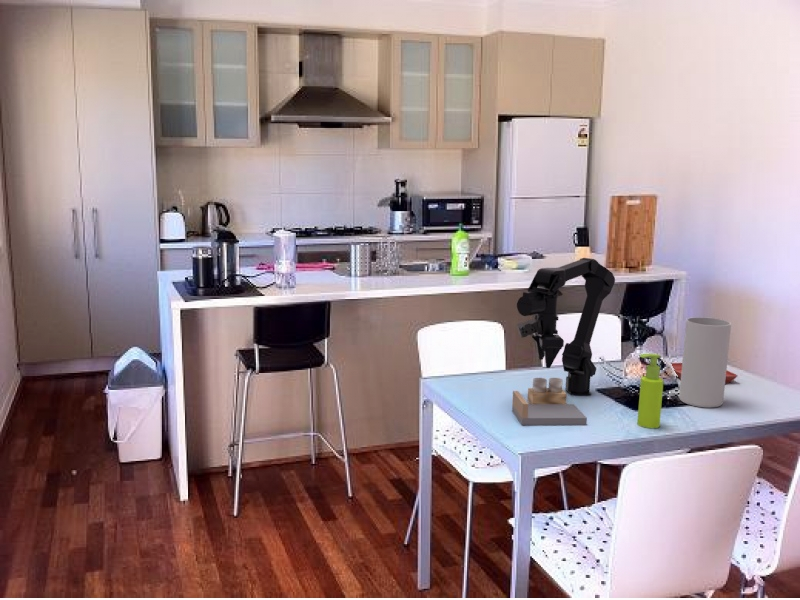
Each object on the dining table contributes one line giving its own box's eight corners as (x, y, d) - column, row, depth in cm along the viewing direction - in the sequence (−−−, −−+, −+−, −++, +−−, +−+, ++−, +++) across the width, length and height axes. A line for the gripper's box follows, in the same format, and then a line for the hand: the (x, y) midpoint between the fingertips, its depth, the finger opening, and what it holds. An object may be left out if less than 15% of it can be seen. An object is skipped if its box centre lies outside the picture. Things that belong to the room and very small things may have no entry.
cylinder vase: (731, 404, 234) (740, 323, 229) (704, 410, 227) (713, 327, 223) (696, 393, 244) (704, 315, 240) (670, 399, 238) (677, 319, 233)
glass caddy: (560, 400, 234) (561, 376, 233) (565, 407, 228) (567, 382, 227) (527, 400, 233) (528, 376, 232) (532, 407, 227) (533, 382, 226)
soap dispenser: (630, 421, 217) (636, 351, 213) (654, 421, 217) (660, 351, 214) (638, 428, 211) (644, 356, 207) (663, 428, 211) (669, 357, 208)
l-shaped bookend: (573, 410, 224) (574, 390, 223) (586, 424, 213) (587, 403, 212) (512, 411, 223) (513, 390, 222) (521, 425, 211) (522, 404, 210)
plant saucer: (660, 371, 270) (661, 362, 270) (707, 370, 274) (708, 361, 273) (687, 386, 253) (688, 377, 252) (738, 385, 256) (739, 375, 255)
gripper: (513, 305, 235) (511, 355, 238) (526, 318, 217) (523, 372, 220) (550, 305, 236) (547, 355, 239) (565, 318, 218) (562, 372, 220)
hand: (544, 363), depth 229 cm, fingers open, 9 cm apart
